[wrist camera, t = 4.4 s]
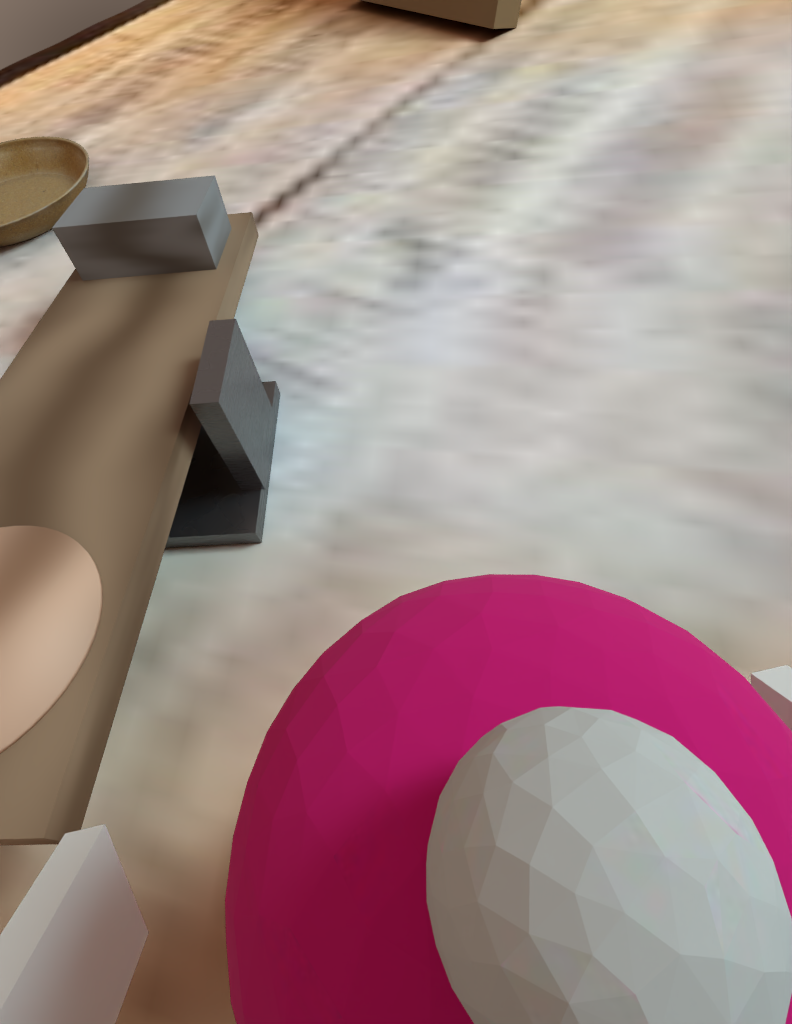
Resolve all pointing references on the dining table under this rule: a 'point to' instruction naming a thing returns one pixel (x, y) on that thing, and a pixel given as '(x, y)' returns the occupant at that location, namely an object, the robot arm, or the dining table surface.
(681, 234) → the dining table surface
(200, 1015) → the dining table surface
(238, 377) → the pivot stand
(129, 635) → the balance plank
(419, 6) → the photo frame
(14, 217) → the plant saucer
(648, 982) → the pepper mill
